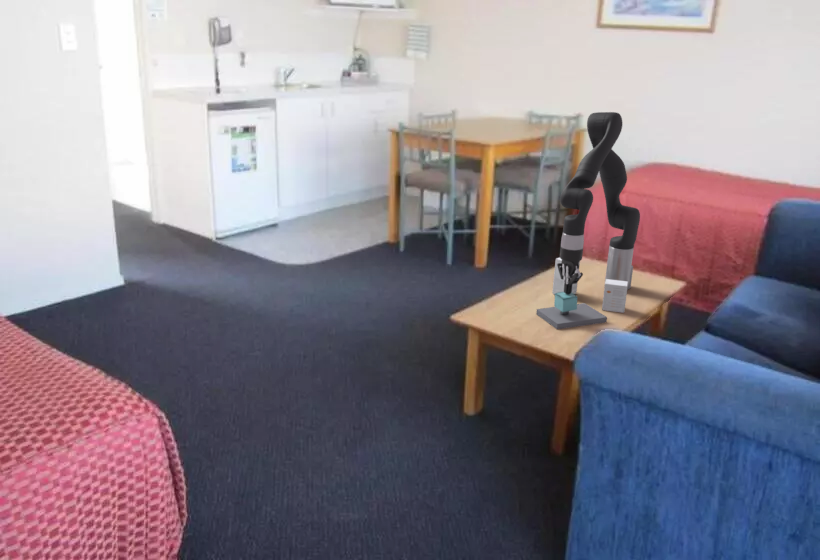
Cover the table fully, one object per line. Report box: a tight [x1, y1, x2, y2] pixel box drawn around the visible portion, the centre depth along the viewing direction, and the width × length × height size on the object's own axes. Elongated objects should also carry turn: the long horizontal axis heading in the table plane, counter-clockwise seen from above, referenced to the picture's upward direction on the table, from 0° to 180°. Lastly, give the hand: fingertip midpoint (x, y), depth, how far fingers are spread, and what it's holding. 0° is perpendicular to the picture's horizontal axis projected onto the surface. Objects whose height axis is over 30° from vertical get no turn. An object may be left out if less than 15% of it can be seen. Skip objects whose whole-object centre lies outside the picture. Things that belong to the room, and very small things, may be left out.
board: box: [535, 302, 608, 330], centre depth 242 cm, size 20×14×2 cm
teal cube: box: [553, 292, 578, 312], centre depth 240 cm, size 6×6×5 cm
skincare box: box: [551, 257, 581, 295], centre depth 263 cm, size 8×6×15 cm
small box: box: [601, 279, 628, 314], centre depth 250 cm, size 8×6×10 cm
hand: (567, 293), depth 239 cm, fingers closed
